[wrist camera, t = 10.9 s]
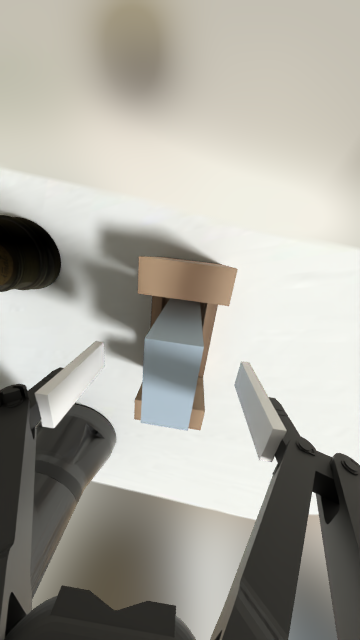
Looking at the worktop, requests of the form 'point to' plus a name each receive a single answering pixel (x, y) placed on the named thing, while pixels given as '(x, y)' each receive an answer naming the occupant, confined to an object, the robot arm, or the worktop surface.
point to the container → (26, 255)
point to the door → (172, 365)
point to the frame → (193, 285)
